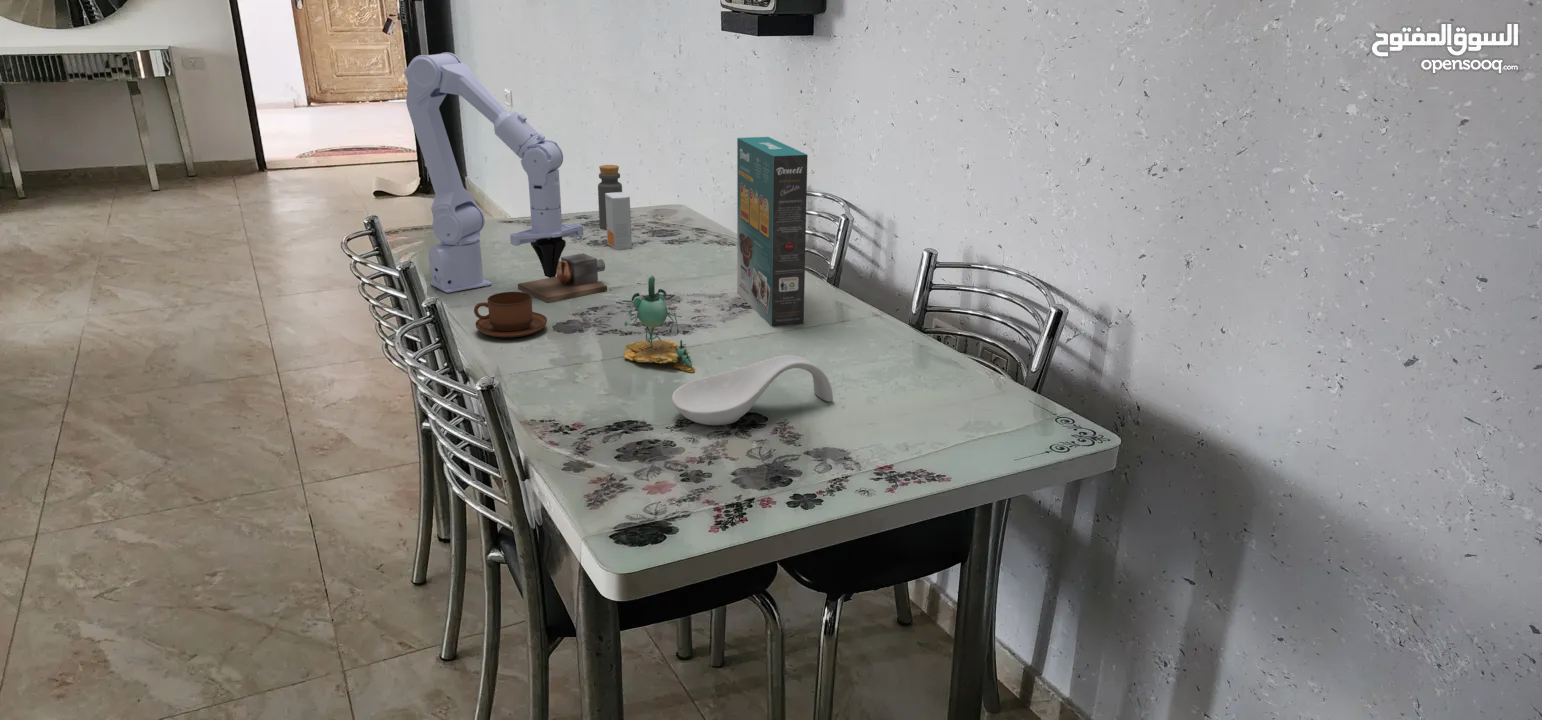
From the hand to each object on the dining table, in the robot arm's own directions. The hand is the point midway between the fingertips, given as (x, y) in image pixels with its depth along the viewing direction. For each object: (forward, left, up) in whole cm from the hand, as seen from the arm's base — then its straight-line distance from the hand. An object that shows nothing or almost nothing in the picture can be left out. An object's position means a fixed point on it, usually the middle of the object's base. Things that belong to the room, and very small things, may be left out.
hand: (550, 276), depth 197 cm
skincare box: (+30, +23, -3) cm, 38 cm away
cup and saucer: (-17, -17, -4) cm, 24 cm away
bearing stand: (+3, 0, -3) cm, 4 cm away
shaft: (+7, 0, -2) cm, 7 cm away
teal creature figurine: (-5, -44, -4) cm, 44 cm away
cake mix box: (+27, -34, -3) cm, 44 cm away
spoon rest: (-6, -70, -4) cm, 70 cm away
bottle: (+39, +41, -3) cm, 57 cm away
